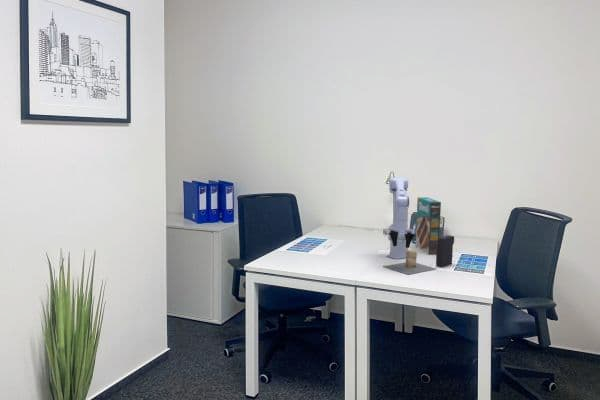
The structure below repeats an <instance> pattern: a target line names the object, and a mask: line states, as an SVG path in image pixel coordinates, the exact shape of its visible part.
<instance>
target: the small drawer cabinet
mask: <svg viewBox="0 0 600 400" xmlns="http://www.w3.org/2000/svg"><path fill="white" fill-rule="evenodd" d="M454 244H455V236H454V235H447V234H446V235H443V236H439V238H438V239H437V250H436V256H435V257H436V258H435V266H436V267H439V268H443V267H446V266H449V265H452V264H453V250H454V249H453V247H454Z"/></svg>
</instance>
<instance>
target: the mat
mask: <svg viewBox="0 0 600 400" xmlns="http://www.w3.org/2000/svg"><path fill="white" fill-rule="evenodd" d="M382 268H385V269H389V270H391V271H394V272H398V273H401V274H404V275H406V276H409V275H414V274H419V273H425V272H429V271H435V270H437V268H436V267H431V266H428V265H425V264H422V263H418V262H416V267H413V268H408V267H407V266H406V261H405V262H399V263H393V264H387V265H383V266H382Z"/></svg>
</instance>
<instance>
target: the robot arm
mask: <svg viewBox="0 0 600 400" xmlns="http://www.w3.org/2000/svg"><path fill="white" fill-rule="evenodd" d="M388 182H389V193H391V194H392V196H393V223H392V224H390V225H389V226H388V231H387V239H388V241H390V247H389V248H390V249H389V254H386V257H388V258H392V259H395V260H399V259H406V250H409V248H410V246H411V243H412V240H413V239H414V237H415V235H416V229H412V228H408V225H409V224H408V223H409V221H408V217H409V216H408V215H409V207H410V197H409V195H408V194H407V191H408V189H409V178H408V177H392V176H391V177H389V181H388Z"/></svg>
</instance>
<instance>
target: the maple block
mask: <svg viewBox="0 0 600 400" xmlns="http://www.w3.org/2000/svg"><path fill="white" fill-rule="evenodd" d="M417 253H418V252H417V251H416V250H413V249H412V250H409V249H408V250H406V257H405V262H406V266H407V267H408V268H413V267H416V263H417V256H418V255H417Z"/></svg>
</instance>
